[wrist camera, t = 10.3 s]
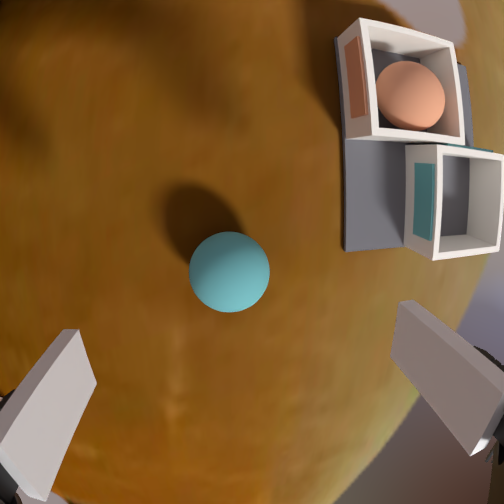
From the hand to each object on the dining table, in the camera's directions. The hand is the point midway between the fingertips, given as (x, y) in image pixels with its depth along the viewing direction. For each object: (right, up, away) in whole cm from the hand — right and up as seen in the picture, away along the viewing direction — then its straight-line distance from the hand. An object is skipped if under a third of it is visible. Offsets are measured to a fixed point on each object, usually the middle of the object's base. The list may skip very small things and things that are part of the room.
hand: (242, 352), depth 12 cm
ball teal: (-1, +3, +8) cm, 9 cm away
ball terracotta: (+11, +14, +6) cm, 19 cm away
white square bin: (+16, +9, +11) cm, 21 cm away
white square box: (+10, +16, +8) cm, 21 cm away
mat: (+13, +12, +10) cm, 20 cm away
